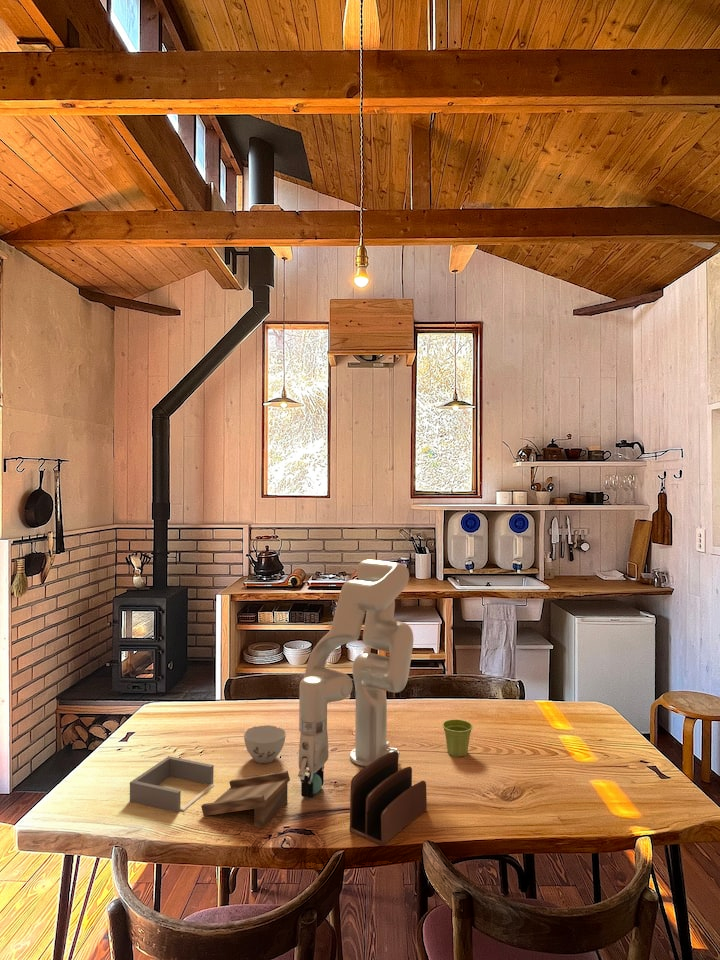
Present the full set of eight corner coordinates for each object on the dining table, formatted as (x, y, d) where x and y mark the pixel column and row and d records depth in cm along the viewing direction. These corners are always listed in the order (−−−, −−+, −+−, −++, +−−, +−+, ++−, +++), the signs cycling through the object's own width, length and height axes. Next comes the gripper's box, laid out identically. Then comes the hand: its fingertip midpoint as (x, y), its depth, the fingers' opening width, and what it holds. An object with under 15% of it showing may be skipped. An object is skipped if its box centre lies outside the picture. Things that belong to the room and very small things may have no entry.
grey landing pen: (216, 783, 169) (216, 765, 169) (180, 813, 154) (180, 793, 154) (168, 773, 175) (168, 756, 175) (129, 801, 160) (129, 782, 160)
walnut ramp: (290, 801, 160) (290, 771, 160) (263, 830, 147) (264, 797, 147) (231, 788, 166) (231, 759, 166) (201, 815, 153) (201, 783, 153)
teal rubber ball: (324, 790, 166) (324, 771, 166) (317, 799, 161) (317, 780, 161) (308, 786, 168) (308, 768, 168) (300, 795, 163) (300, 777, 163)
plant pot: (437, 755, 187) (437, 727, 187) (448, 743, 196) (448, 717, 196) (467, 762, 183) (467, 733, 183) (476, 750, 191) (476, 722, 191)
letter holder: (348, 832, 147) (349, 773, 147) (395, 798, 163) (395, 745, 163) (382, 847, 141) (383, 786, 141) (427, 810, 157) (427, 756, 156)
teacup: (279, 770, 177) (280, 743, 177) (238, 767, 179) (238, 740, 178) (291, 747, 192) (291, 722, 192) (252, 745, 193) (253, 720, 193)
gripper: (312, 739, 155) (311, 809, 155) (338, 714, 171) (337, 778, 171) (286, 734, 158) (285, 803, 158) (313, 710, 174) (313, 773, 174)
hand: (312, 789), depth 165 cm, fingers open, 6 cm apart
